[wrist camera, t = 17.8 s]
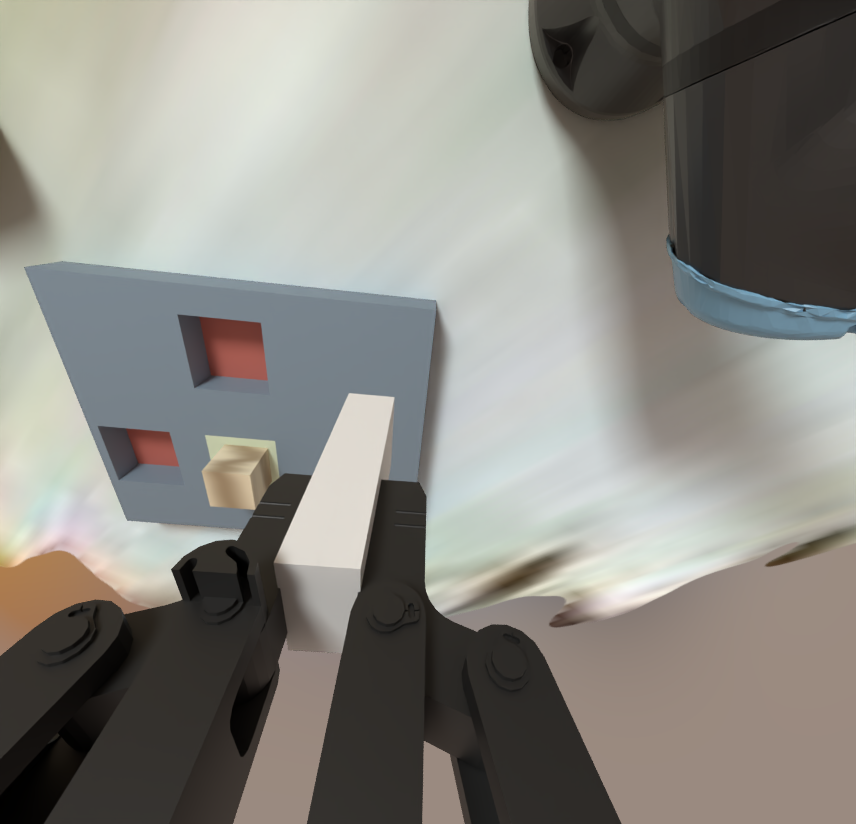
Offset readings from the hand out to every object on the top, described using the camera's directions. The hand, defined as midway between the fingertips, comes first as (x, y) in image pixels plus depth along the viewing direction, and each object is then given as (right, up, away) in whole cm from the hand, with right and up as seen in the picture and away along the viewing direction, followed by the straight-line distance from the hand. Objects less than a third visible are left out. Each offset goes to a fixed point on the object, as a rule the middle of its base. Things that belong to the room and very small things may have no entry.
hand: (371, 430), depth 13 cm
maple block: (-20, -6, +32) cm, 38 cm away
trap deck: (-18, 0, +33) cm, 38 cm away
